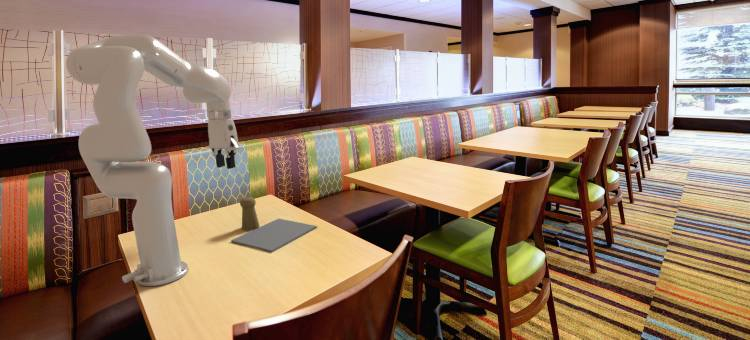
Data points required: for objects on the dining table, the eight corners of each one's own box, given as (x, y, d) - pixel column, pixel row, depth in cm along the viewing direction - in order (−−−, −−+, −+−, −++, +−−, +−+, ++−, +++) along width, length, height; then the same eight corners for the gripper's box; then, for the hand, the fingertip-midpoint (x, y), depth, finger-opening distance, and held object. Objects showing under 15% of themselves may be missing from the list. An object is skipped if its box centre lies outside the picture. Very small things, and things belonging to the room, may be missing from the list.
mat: (271, 252, 121) (271, 250, 121) (231, 241, 130) (231, 240, 130) (317, 227, 139) (317, 226, 139) (278, 219, 148) (278, 218, 148)
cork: (248, 231, 138) (245, 201, 135) (238, 228, 141) (234, 198, 139) (263, 226, 142) (259, 197, 140) (252, 223, 146) (249, 194, 143)
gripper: (245, 115, 136) (251, 167, 140) (212, 114, 144) (219, 163, 149) (227, 117, 130) (234, 172, 134) (194, 116, 138) (201, 167, 142)
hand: (226, 166), depth 141 cm, fingers open, 4 cm apart
